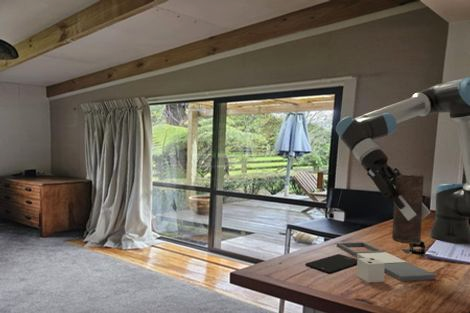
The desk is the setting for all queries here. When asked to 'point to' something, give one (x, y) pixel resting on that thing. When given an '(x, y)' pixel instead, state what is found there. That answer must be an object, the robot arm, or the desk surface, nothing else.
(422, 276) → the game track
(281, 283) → the desk surface
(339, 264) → the cell phone
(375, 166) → the robot arm
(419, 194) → the candle
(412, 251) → the black chunky piece
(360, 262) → the die
